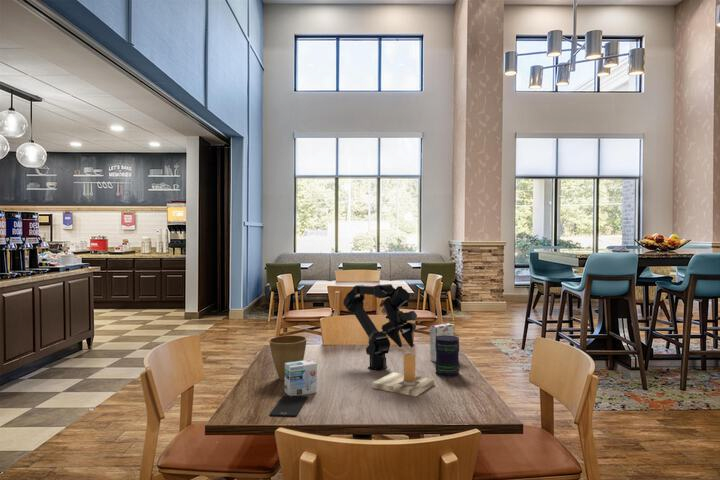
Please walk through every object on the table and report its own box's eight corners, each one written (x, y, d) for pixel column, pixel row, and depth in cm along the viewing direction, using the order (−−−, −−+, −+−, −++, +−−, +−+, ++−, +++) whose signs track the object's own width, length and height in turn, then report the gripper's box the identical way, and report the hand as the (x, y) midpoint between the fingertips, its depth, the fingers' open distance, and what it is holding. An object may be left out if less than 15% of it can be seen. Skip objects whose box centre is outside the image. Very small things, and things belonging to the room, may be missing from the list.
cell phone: (268, 417, 145) (268, 414, 145) (283, 397, 163) (283, 395, 163) (296, 418, 144) (296, 415, 144) (307, 398, 162) (307, 395, 162)
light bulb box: (289, 397, 162) (289, 367, 162) (283, 391, 168) (283, 362, 168) (317, 392, 167) (317, 363, 167) (310, 387, 173) (310, 359, 173)
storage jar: (430, 371, 193) (430, 336, 193) (450, 369, 196) (450, 334, 196) (443, 378, 183) (443, 341, 183) (464, 375, 187) (464, 339, 187)
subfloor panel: (372, 387, 172) (372, 382, 172) (392, 377, 186) (392, 371, 186) (415, 396, 162) (415, 390, 162) (434, 384, 176) (434, 379, 176)
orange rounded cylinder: (404, 390, 169) (404, 356, 169) (403, 386, 174) (403, 353, 174) (416, 390, 169) (416, 356, 169) (414, 386, 174) (414, 353, 174)
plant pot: (285, 371, 194) (285, 333, 194) (314, 376, 187) (313, 337, 187) (261, 380, 181) (261, 340, 181) (291, 386, 174) (290, 344, 174)
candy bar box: (448, 357, 216) (447, 322, 216) (455, 359, 212) (455, 324, 212) (429, 360, 211) (429, 325, 211) (436, 363, 206) (436, 326, 206)
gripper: (396, 301, 179) (411, 338, 172) (418, 304, 194) (433, 338, 187) (375, 313, 184) (388, 350, 177) (398, 316, 199) (411, 350, 192)
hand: (406, 346), depth 183 cm, fingers open, 9 cm apart
